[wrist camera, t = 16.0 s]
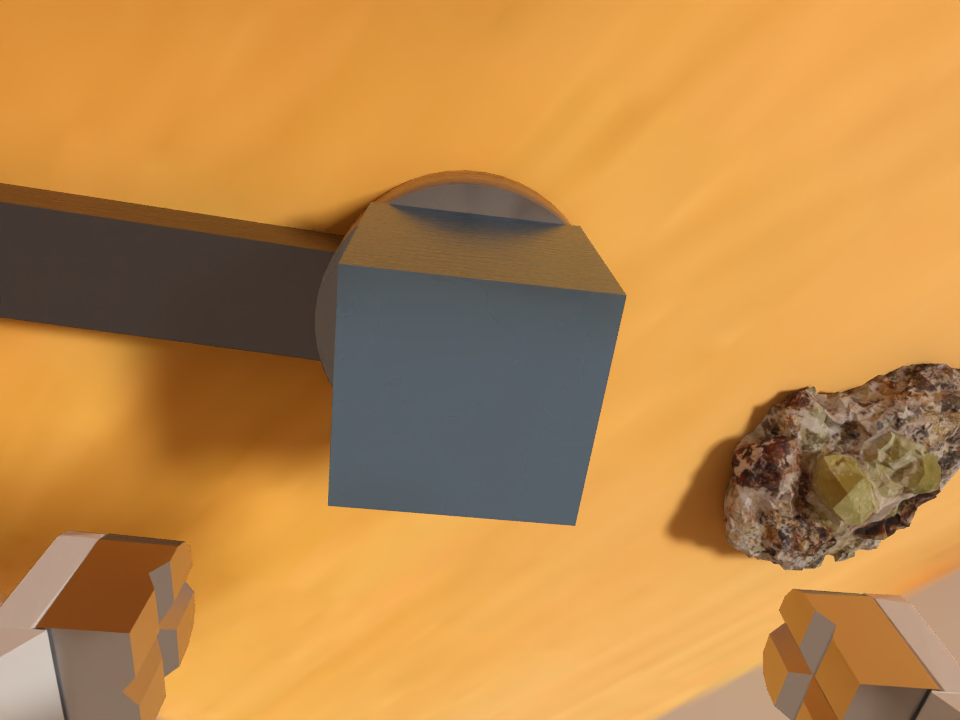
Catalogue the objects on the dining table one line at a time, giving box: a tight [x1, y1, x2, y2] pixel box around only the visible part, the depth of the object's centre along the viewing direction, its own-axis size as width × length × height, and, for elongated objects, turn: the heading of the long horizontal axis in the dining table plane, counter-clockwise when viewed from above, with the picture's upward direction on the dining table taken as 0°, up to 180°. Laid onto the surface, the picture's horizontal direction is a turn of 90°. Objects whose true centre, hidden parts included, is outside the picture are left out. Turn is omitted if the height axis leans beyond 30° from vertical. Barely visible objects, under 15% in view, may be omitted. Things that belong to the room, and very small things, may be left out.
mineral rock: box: [723, 363, 960, 570], centre depth 26 cm, size 11×4×8 cm
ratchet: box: [0, 170, 571, 387], centre depth 20 cm, size 26×9×6 cm, turn 80°
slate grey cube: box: [328, 202, 626, 526], centre depth 18 cm, size 6×6×6 cm
